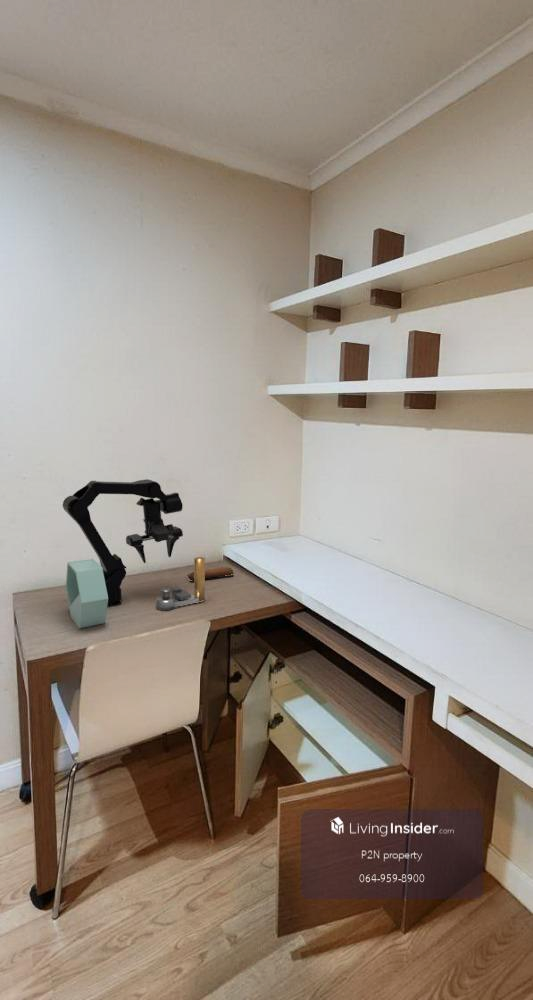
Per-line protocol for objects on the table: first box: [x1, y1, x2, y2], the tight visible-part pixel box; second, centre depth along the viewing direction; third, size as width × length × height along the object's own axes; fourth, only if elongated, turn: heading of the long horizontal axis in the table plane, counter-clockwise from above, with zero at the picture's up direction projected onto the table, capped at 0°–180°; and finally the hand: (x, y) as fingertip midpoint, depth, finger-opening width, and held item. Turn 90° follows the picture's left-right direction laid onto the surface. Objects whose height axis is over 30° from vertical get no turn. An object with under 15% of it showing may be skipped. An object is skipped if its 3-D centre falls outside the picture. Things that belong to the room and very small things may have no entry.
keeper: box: [171, 586, 192, 600], centre depth 173 cm, size 4×8×4 cm, turn 38°
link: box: [156, 556, 206, 611], centre depth 170 cm, size 17×6×15 cm, turn 121°
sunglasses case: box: [186, 566, 234, 580], centre depth 200 cm, size 18×7×7 cm
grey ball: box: [160, 587, 172, 600], centre depth 168 cm, size 3×3×3 cm
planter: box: [65, 558, 108, 629], centre depth 156 cm, size 17×8×21 cm
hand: (157, 559), depth 178 cm, fingers open, 9 cm apart
